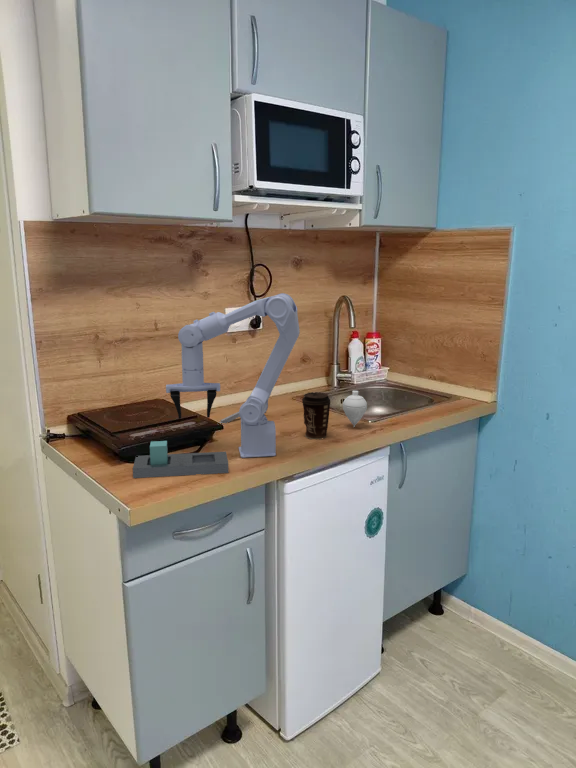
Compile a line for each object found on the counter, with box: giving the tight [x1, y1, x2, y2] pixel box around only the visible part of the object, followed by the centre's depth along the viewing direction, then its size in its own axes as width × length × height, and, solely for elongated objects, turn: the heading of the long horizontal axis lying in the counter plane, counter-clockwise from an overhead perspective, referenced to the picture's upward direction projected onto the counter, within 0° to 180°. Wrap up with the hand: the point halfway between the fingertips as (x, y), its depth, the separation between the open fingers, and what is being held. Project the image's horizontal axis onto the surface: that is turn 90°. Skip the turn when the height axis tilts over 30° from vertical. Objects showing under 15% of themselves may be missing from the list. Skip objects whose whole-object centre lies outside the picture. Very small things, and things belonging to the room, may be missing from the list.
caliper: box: [218, 411, 240, 424], centre depth 188 cm, size 20×1×6 cm, turn 136°
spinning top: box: [342, 390, 368, 428], centre depth 178 cm, size 8×8×12 cm
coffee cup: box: [301, 391, 331, 440], centre depth 169 cm, size 9×8×13 cm
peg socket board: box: [132, 451, 229, 479], centre depth 142 cm, size 23×9×2 cm, turn 100°
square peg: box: [149, 440, 169, 465], centre depth 141 cm, size 4×4×7 cm
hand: (194, 417), depth 155 cm, fingers open, 7 cm apart
